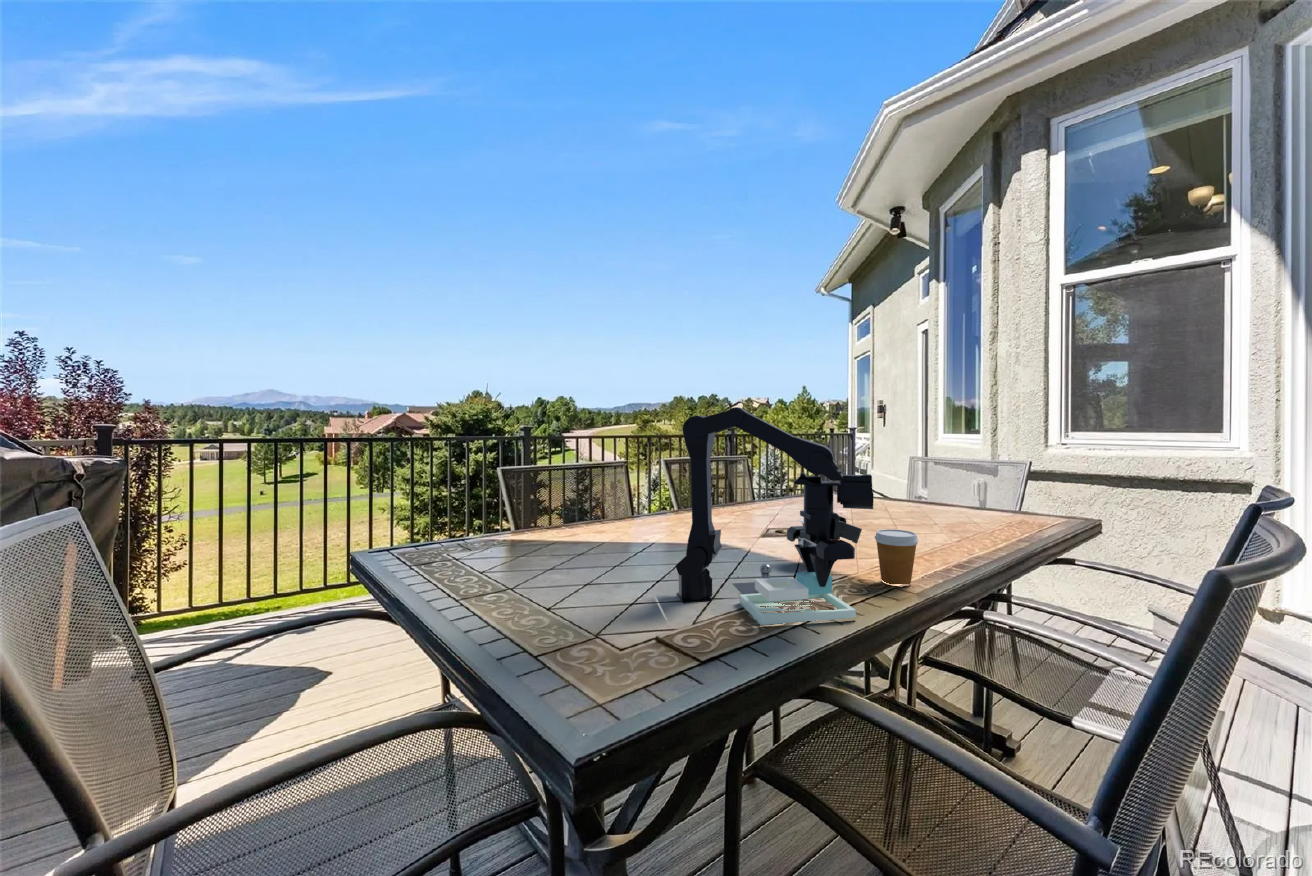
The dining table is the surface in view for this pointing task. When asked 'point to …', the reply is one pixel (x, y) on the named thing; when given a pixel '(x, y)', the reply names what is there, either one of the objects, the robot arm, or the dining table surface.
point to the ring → (792, 587)
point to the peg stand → (750, 587)
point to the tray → (772, 618)
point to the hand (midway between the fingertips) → (818, 583)
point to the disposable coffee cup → (896, 555)
